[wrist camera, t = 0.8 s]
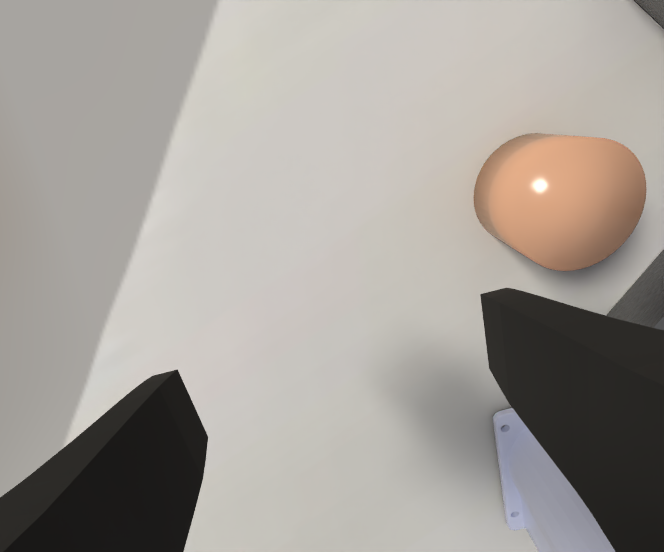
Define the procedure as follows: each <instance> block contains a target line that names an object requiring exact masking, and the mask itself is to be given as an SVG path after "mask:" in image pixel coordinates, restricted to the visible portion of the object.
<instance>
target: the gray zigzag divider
mask: <svg viewBox="0 0 664 552" xmlns="http://www.w3.org/2000/svg"><path fill="white" fill-rule="evenodd" d="M635 1H636V2H637V3H638V4H639V5H640V6H641V7H642V8H643V9H644V10H645V11H646V12H647V13H648V14H650V15H651V16H652V17H653V18H654V19H655V20H656V21H657V22H658V23H659V24H660V25H661V26H662V27H663V28H664V0H635ZM607 316H608V317H612V318H616V319H619V320H623V321H628V322H632V323H636V324H640V325H644V326H648V327H652V328H656V329H660V330H664V250H663V251H662V252H661V253H660V255H659V256H658V257H657V258H656V259H655V260H654V261H653V263H652V264H651V265H650V266H649V267H648V268H647V269H646V271H645V272H644V273H643V274H642V275H641V276H640V278H639V279H638V280H637V281H636V282H635V283H634V284H633V286H632V287H631V288H630V289H629V290H628V291H627V292H626V294H625V295H624V296H623V297H622V298H621V299H620V301H619V302H618V303H617V304H616V305H615V306H614V307H613V309H612V310H611V311H610V312H609V313H608V314H607Z"/></svg>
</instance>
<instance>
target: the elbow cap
mask: <svg viewBox="0 0 664 552" xmlns="http://www.w3.org/2000/svg"><path fill="white" fill-rule="evenodd" d="M645 199H646V180H645V174H644V171H643V168H642V166H641V164H640V162H639V160H638V159H637V157H636V156H635V155H634V153H632V152H631V151H630V150H629V149H628V148H627V147H625V146H624V145H622V144H620V143H618V142H616V141H613V140H609V139H605V138H594V137H580V136H567V135H553V134H540V133H534V134H526V135H522V136H519V137H516V138H514V139H512V140H509V141H508V142H506V143H505V144H503V145H502V146H500V147H499V148H498V149H497V150H495V151H494V152H493V154H492V155H491V156H490V157H489V158H488V159H487V161H486V162H485V163H484V165H483V167H482V168H481V170H480V173H479V175H478V177H477V180H476V184H475V189H474V207H475V211H476V214H477V217H478V219H479V221H480V223H481V224H482V226H483V227H484V228H485V229H486V230H487V231H488V232H489V233H490V234H491V235H493V236H494V237H496V238H498V239H499V240H501V241H502V242H504V243H506V244H507V245H509V246H510V247H512V248H514V249H515V250H517V251H518V252H520V253H522V254H523V255H525V256H526V257H528V258H530V259H531V260H533V261H534V262H536V263H538V264H540V265H541V266H543V267H546V268H549V269H553V270H559V271H571V270H578V269H582V268H586V267H589V266H591V265H594V264H596V263H598V262H600V261H602V260H603V259H605V258H607V257H608V256H609V255H611V254H612V253H613V252H615V251H616V250H617V249H618V248H619V247H620V246H621V245H622V244H623V243H624V242H625V241H626V240H627V238H628V237H629V236H630V234H631V233H632V232H633V230H634V228H635V227H636V225H637V223H638V221H639V219H640V217H641V214H642V211H643V208H644V204H645Z"/></svg>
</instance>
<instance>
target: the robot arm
mask: <svg viewBox="0 0 664 552" xmlns="http://www.w3.org/2000/svg"><path fill="white" fill-rule="evenodd" d="M481 303H482V311H483V319H484V328H485V336H486V345H487V353H488V361H489V369H490V370H491V372H492V374H493V376H494V378H495V379H496V381H497V383H498V385H499V387H500V388H501V390H502V392H503V394H504V395H505V397H506V399H507V400H508V402H509V404H510V405H511V407H512V408H509V409H505V410H501V411H498V412H497V413H496V414H495V415H494V416H493V424H494V432H495V440H496V448H497V455H498V463H499V471H500V479H501V487H502V495H503V502H504V510H505V518H506V523H507V525H508V527H509V529H511V530H519V529H523V528H526V529H527V531H528V533H529V535H530V537H531V539H532V540H533V542H534V544H535V546H536V548H537V550H538V551H539V552H664V330H660V329H656V328H652V327H648V326H644V325H640V324H636V323H632V322H628V321H623V320H619V319H616V318H612V317H608V316H605V315H601V314H597V313H594V312H590V311H587V310H584V309H580V308H577V307H573V306H570V305H567V304H564V303H560V302H557V301H554V300H550V299H547V298H544V297H541V296H537V295H534V294H530V293H527V292H523V291H520V290H516V289H511V288H504V289H500V290H496V291H492V292H488V293H484V294H481ZM503 425H505V426H504V427H502V426H503ZM207 442H208V436H207V434H206V431H205V429H204V427H203V425H202V423H201V420H200V418H199V416H198V414H197V412H196V409H195V407H194V405H193V403H192V401H191V398H190V396H189V394H188V392H187V390H186V387H185V385H184V383H183V381H182V379H181V376H180V374H179V372H178V370H174V371H170V372H166V373H162V374H158V375H154V376H152V377H150V378H149V379H147V380H146V381H144V382H143V383H141V384H140V385H139V386H137V387H136V388H135V389H134V390H132V391H131V392H130V393H129V394H127V395H126V396H125V397H124V398H123V399H121V400H120V401H119V402H118V403H117V404H116V405H114V406H113V407H112V408H111V409H110V410H108V411H107V412H106V413H105V414H104V415H103V416H101V417H100V418H99V419H98V420H97V421H96V422H94V423H93V424H92V425H91V426H90V427H88V428H87V429H86V430H85V431H84V432H83V433H81V434H80V435H79V436H78V437H77V438H75V439H74V440H73V441H72V442H71V443H69V444H68V445H67V446H66V447H64V448H63V449H62V450H61V451H59V452H58V453H57V454H56V455H54V456H53V457H52V458H51V459H50V460H48V461H47V462H46V463H45V464H43V465H42V466H41V467H40V468H38V469H37V470H36V471H35V472H33V473H32V474H31V475H30V476H28V477H27V478H26V479H25V480H23V481H22V482H21V483H19V484H18V485H17V486H15V487H14V488H13V489H11V490H10V491H9V492H7V493H6V494H5V495H3V496H2V497H1V498H0V552H183V551H184V547H185V544H186V540H187V537H188V533H189V529H190V526H191V522H192V518H193V515H194V511H195V507H196V503H197V499H198V496H199V492H200V488H201V484H202V480H203V474H204V467H205V460H206V451H207Z"/></svg>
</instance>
